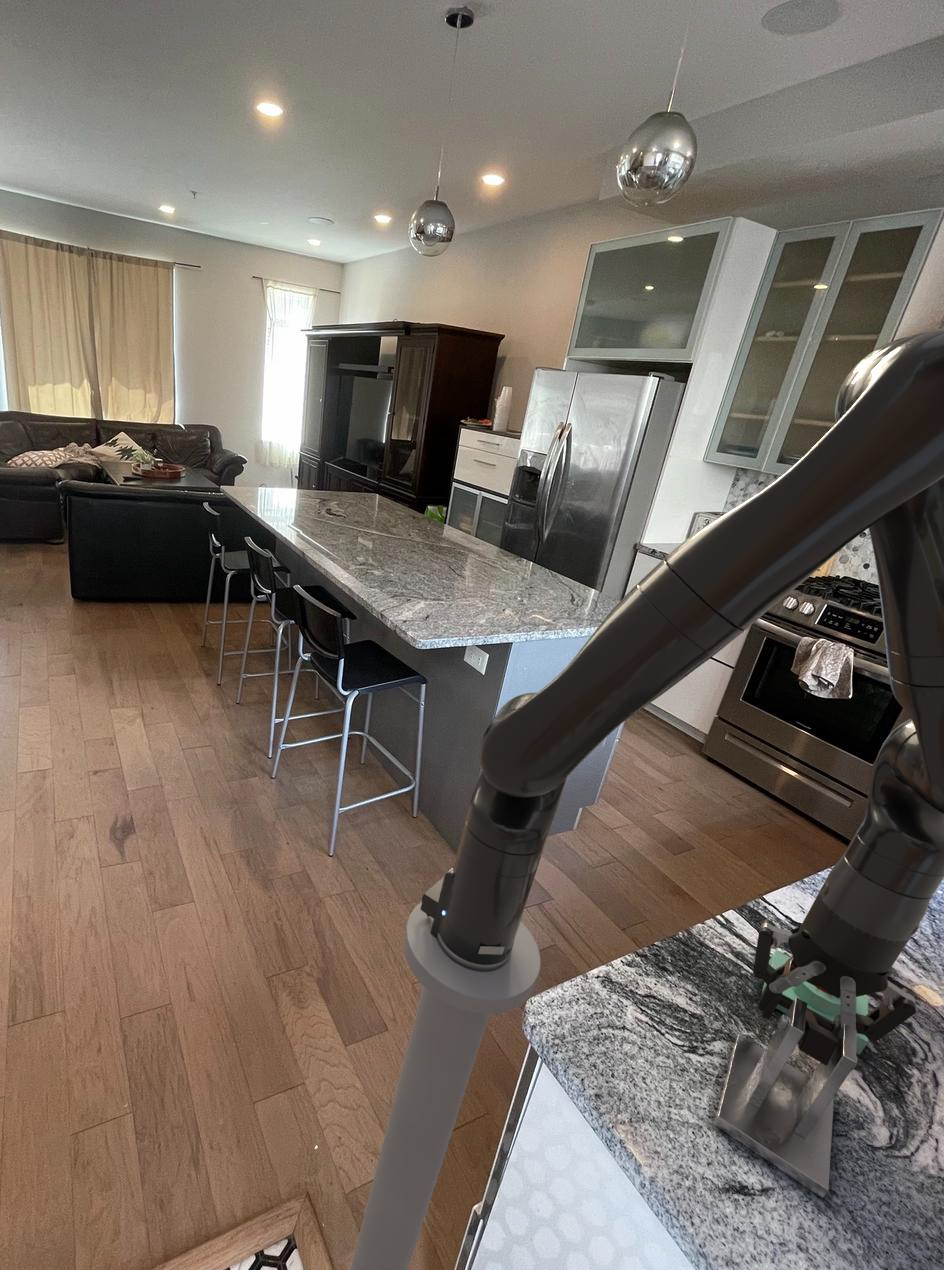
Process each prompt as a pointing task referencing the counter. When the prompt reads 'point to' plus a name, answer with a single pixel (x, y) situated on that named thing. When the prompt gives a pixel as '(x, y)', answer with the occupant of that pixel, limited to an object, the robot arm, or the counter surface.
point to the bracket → (786, 1100)
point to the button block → (819, 999)
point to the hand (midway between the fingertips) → (794, 1029)
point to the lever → (815, 1034)
